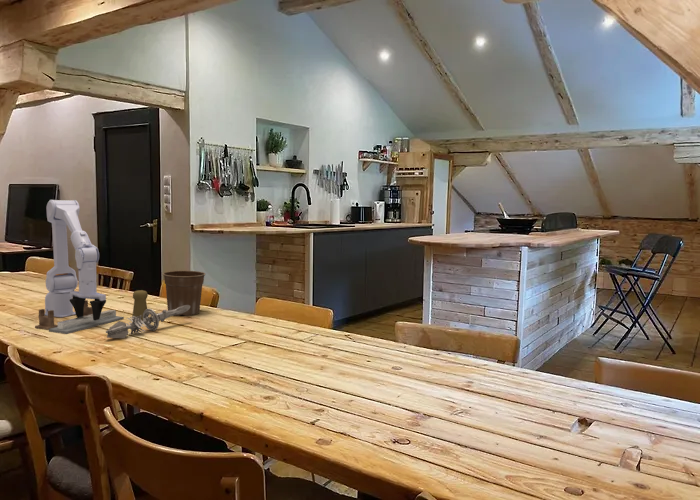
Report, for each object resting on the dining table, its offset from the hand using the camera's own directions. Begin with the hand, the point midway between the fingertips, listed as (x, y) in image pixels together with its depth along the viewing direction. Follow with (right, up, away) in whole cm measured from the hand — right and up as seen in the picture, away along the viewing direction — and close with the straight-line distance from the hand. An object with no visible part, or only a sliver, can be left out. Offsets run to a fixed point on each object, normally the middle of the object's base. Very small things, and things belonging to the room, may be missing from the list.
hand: (88, 318), depth 200 cm
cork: (+15, -2, +11) cm, 18 cm away
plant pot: (+27, -1, +24) cm, 36 cm away
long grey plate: (0, -2, 0) cm, 2 cm away
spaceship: (+25, -4, -6) cm, 25 cm away
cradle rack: (-8, -2, +3) cm, 9 cm away
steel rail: (0, -1, 0) cm, 1 cm away
